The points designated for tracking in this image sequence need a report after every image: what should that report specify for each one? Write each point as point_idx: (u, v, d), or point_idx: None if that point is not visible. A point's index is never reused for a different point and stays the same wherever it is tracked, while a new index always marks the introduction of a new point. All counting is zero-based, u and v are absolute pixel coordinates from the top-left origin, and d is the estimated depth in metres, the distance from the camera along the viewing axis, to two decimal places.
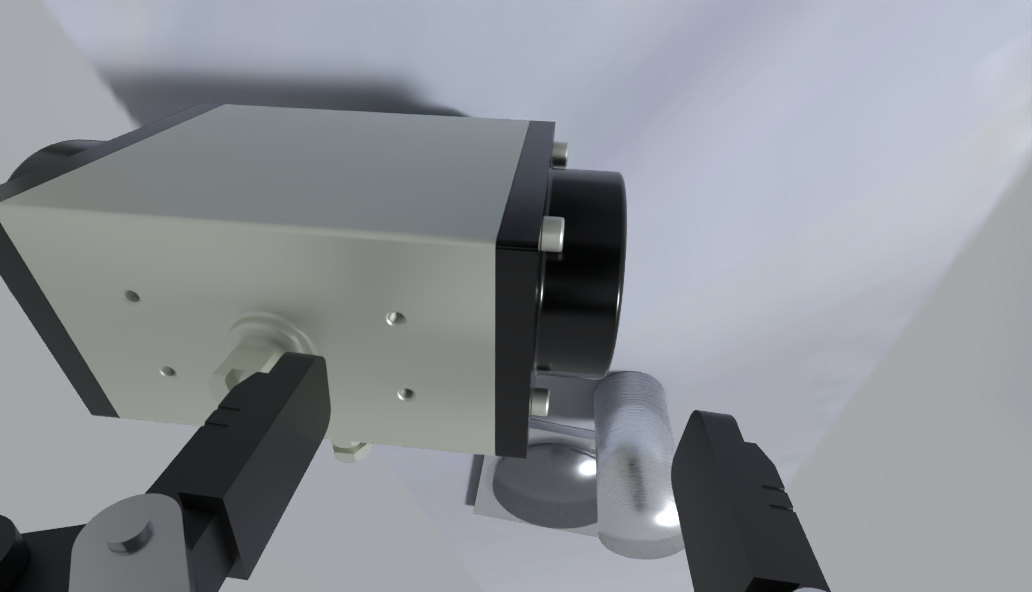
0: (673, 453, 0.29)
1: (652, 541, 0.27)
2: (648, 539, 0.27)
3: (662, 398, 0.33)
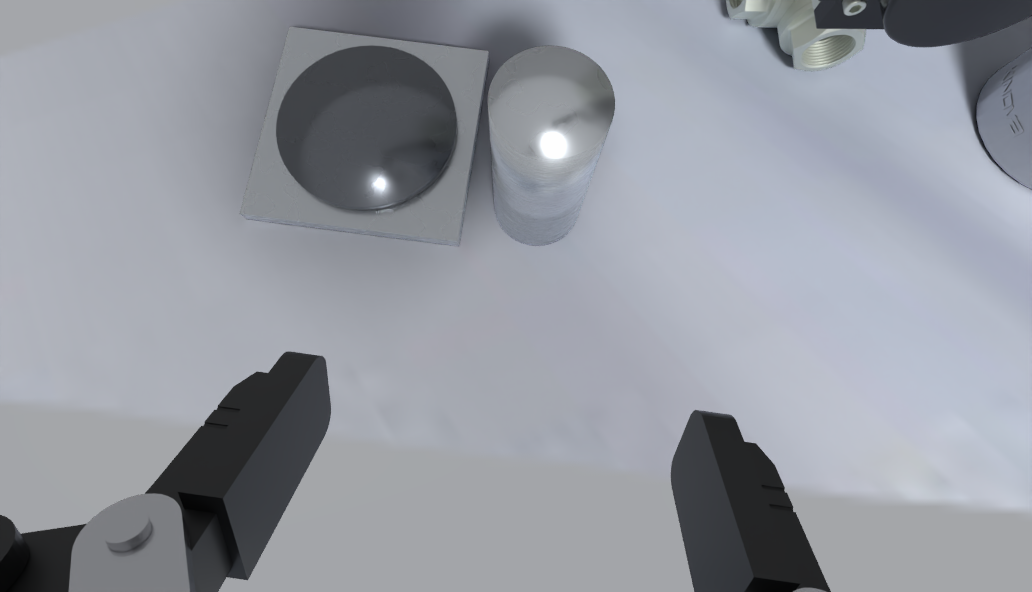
0: (577, 194, 0.23)
1: (537, 113, 0.19)
2: (541, 106, 0.19)
3: (568, 226, 0.27)
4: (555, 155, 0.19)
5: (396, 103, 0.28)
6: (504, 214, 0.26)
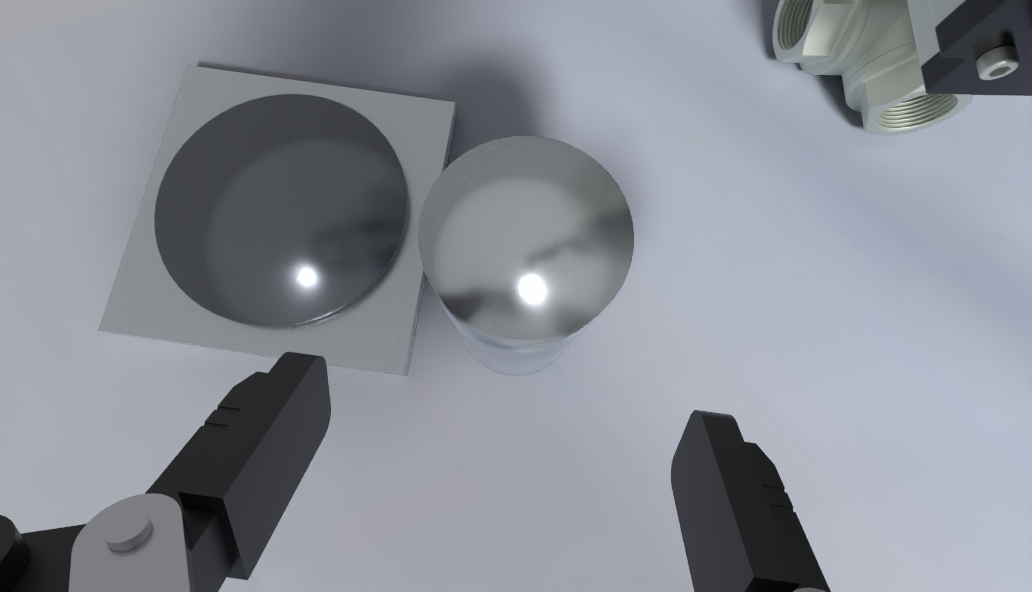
0: (570, 343, 0.15)
1: (501, 255, 0.11)
2: (508, 243, 0.11)
3: None
4: (531, 333, 0.11)
5: (324, 175, 0.21)
6: (466, 346, 0.18)
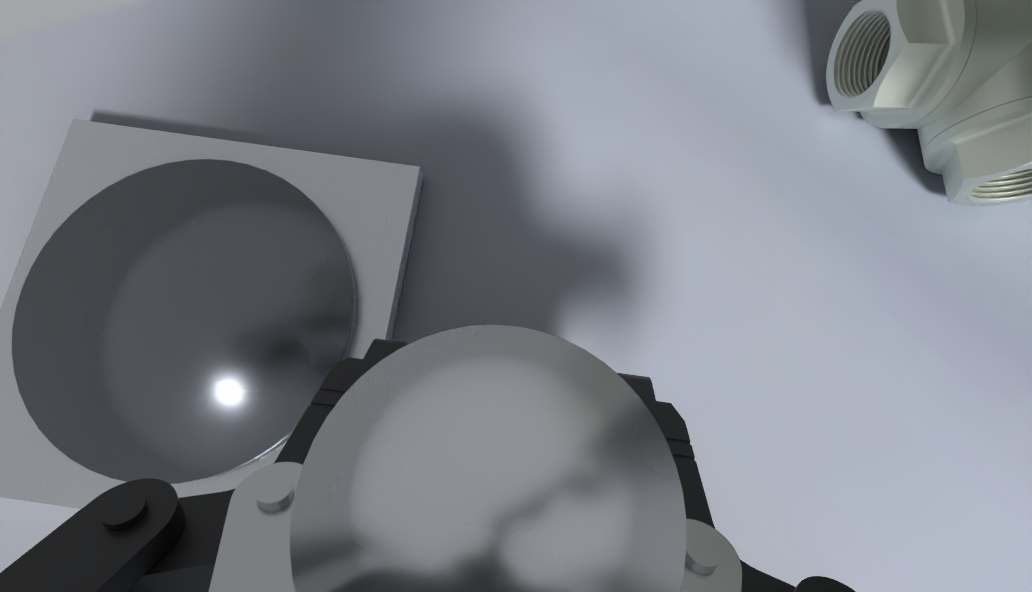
0: None
1: (444, 568, 0.06)
2: (457, 542, 0.06)
3: None
4: None
5: (243, 271, 0.16)
6: None
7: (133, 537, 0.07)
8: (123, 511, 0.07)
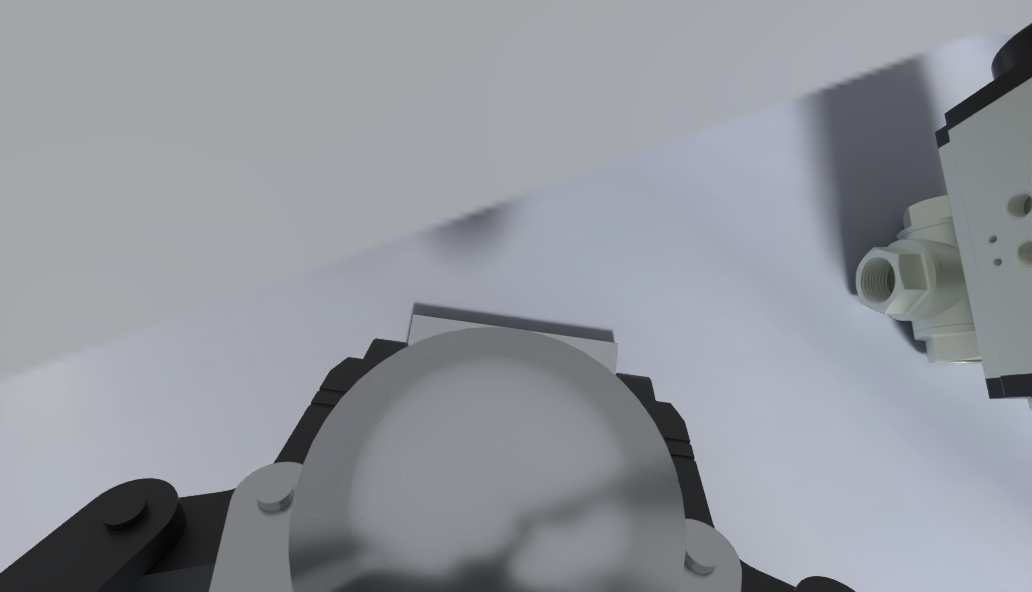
0: None
1: (442, 571, 0.06)
2: (455, 546, 0.06)
3: None
4: None
5: None
6: None
7: (133, 537, 0.07)
8: (124, 511, 0.07)
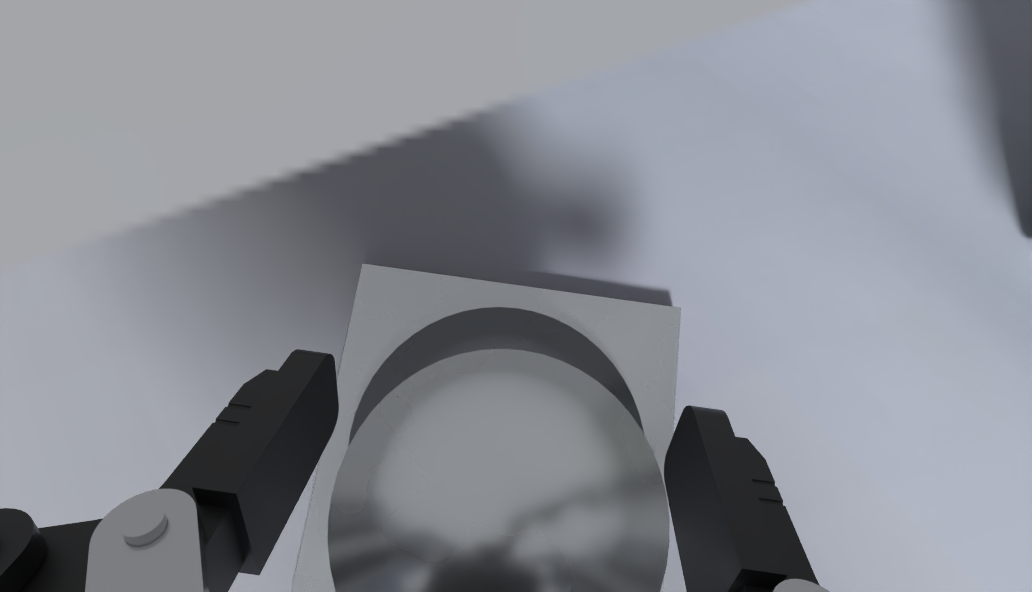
0: None
1: (461, 561, 0.07)
2: (472, 539, 0.07)
3: None
4: None
5: None
6: None
7: None
8: None
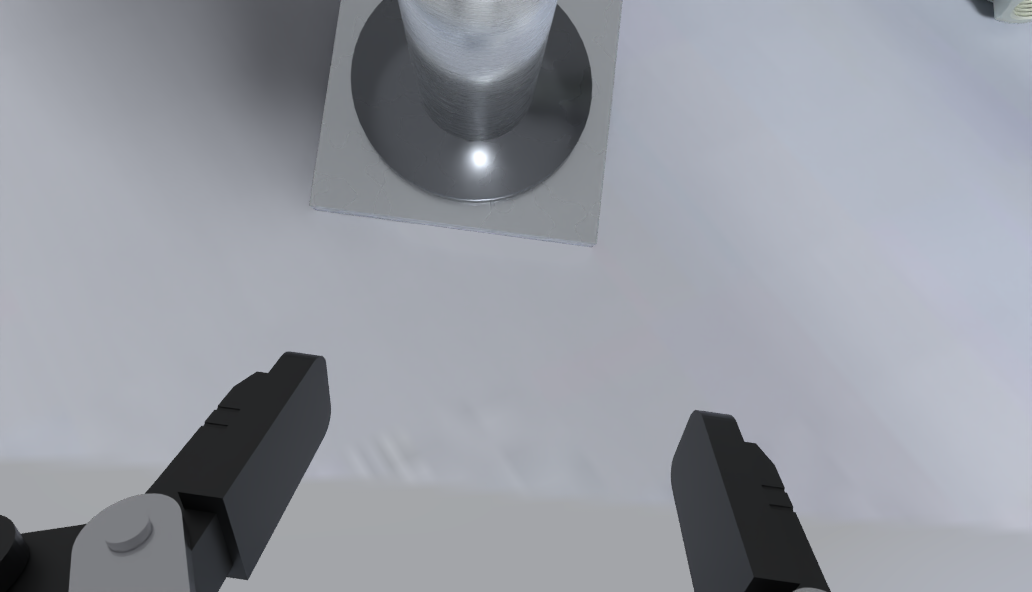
0: (527, 53, 0.15)
1: None
2: None
3: (518, 111, 0.20)
4: None
5: None
6: (426, 90, 0.18)
7: None
8: None
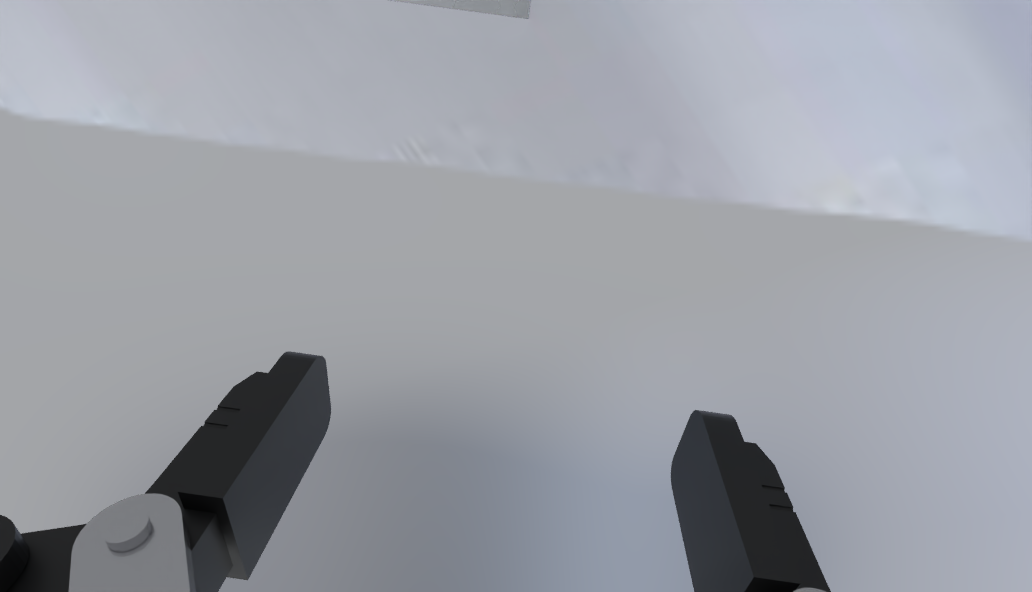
0: None
1: None
2: None
3: None
4: None
5: None
6: None
7: None
8: None
